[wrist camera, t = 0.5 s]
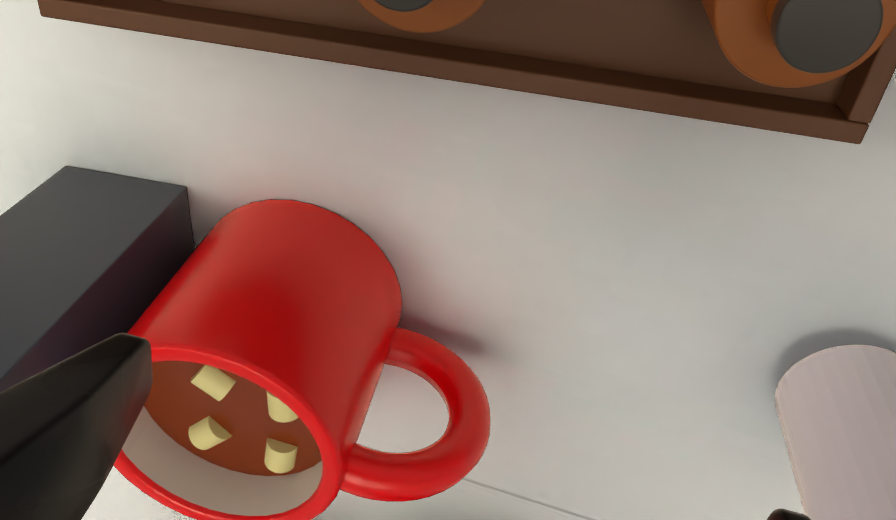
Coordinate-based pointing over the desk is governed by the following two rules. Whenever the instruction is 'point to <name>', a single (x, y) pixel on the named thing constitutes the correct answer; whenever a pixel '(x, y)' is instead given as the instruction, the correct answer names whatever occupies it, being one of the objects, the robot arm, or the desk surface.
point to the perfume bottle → (842, 431)
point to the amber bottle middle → (422, 13)
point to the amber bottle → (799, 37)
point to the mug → (287, 375)
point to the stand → (84, 264)
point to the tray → (530, 53)
